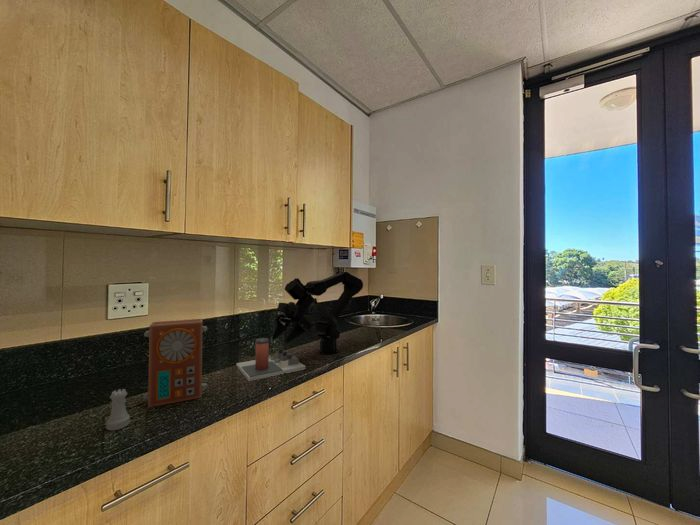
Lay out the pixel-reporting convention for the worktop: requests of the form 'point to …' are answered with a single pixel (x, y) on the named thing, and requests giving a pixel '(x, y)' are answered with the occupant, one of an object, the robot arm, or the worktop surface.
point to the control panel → (175, 361)
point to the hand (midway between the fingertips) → (279, 340)
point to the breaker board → (271, 366)
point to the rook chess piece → (118, 411)
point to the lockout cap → (262, 354)
